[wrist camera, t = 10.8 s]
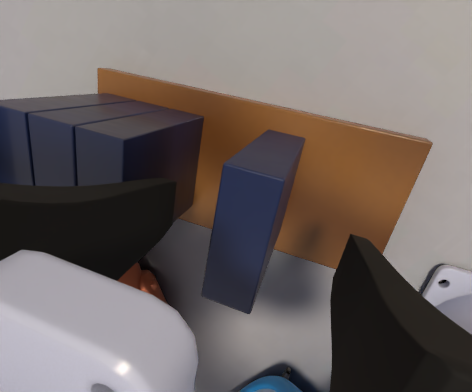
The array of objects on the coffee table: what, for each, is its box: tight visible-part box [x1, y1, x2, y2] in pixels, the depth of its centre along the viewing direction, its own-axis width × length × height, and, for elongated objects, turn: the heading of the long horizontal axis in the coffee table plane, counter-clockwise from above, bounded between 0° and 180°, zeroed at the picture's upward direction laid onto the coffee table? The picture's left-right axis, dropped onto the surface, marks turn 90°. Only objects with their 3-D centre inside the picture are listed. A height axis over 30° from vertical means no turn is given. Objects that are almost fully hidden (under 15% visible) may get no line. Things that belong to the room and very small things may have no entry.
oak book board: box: [0, 68, 433, 269], centre depth 14 cm, size 8×18×9 cm, turn 79°
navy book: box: [202, 130, 305, 314], centre depth 13 cm, size 6×2×7 cm, turn 170°
